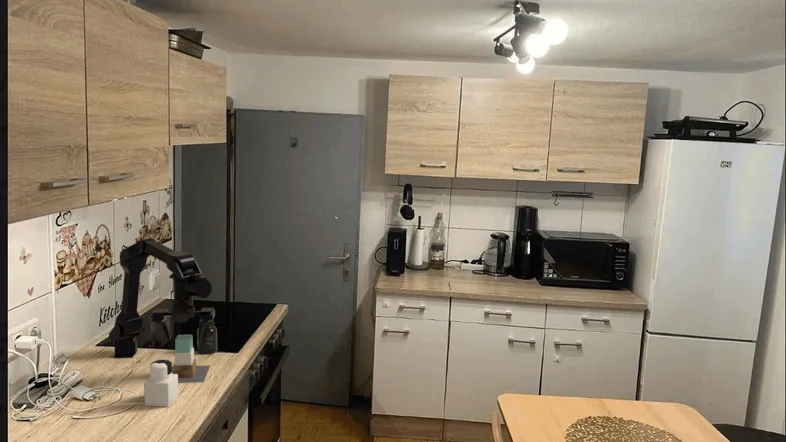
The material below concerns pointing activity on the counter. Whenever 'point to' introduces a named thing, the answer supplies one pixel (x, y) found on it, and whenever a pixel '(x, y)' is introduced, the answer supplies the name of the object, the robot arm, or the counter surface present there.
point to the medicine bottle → (161, 384)
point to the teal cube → (183, 344)
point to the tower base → (185, 370)
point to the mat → (196, 375)
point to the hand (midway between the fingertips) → (184, 340)
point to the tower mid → (184, 358)
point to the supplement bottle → (208, 339)
